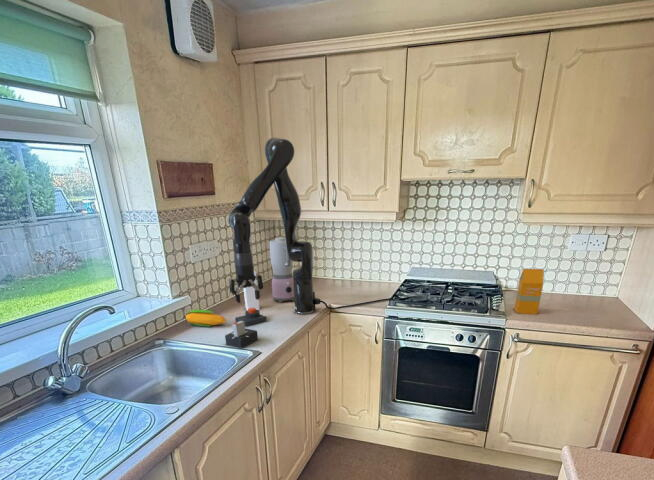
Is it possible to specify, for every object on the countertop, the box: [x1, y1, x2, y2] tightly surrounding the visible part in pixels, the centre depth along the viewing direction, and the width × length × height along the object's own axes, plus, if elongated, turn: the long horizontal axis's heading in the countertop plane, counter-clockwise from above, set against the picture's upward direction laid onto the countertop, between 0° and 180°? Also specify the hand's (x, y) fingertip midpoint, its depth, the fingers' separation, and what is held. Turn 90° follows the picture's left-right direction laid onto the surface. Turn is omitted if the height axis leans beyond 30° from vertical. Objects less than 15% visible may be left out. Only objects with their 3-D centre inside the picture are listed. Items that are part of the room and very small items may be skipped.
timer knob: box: [232, 321, 246, 337], centre depth 159 cm, size 5×2×5 cm, turn 152°
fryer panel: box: [224, 328, 259, 349], centre depth 162 cm, size 11×9×4 cm
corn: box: [185, 308, 227, 328], centre depth 181 cm, size 7×8×20 cm
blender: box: [269, 236, 294, 304], centre depth 211 cm, size 16×12×32 cm
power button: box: [248, 308, 256, 313], centre depth 187 cm, size 4×4×2 cm
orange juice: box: [513, 268, 544, 315], centre depth 190 cm, size 8×9×20 cm
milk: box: [242, 270, 261, 311], centre depth 200 cm, size 6×6×22 cm
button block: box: [234, 310, 267, 328], centre depth 186 cm, size 11×9×4 cm
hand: (248, 300), depth 176 cm, fingers open, 8 cm apart
